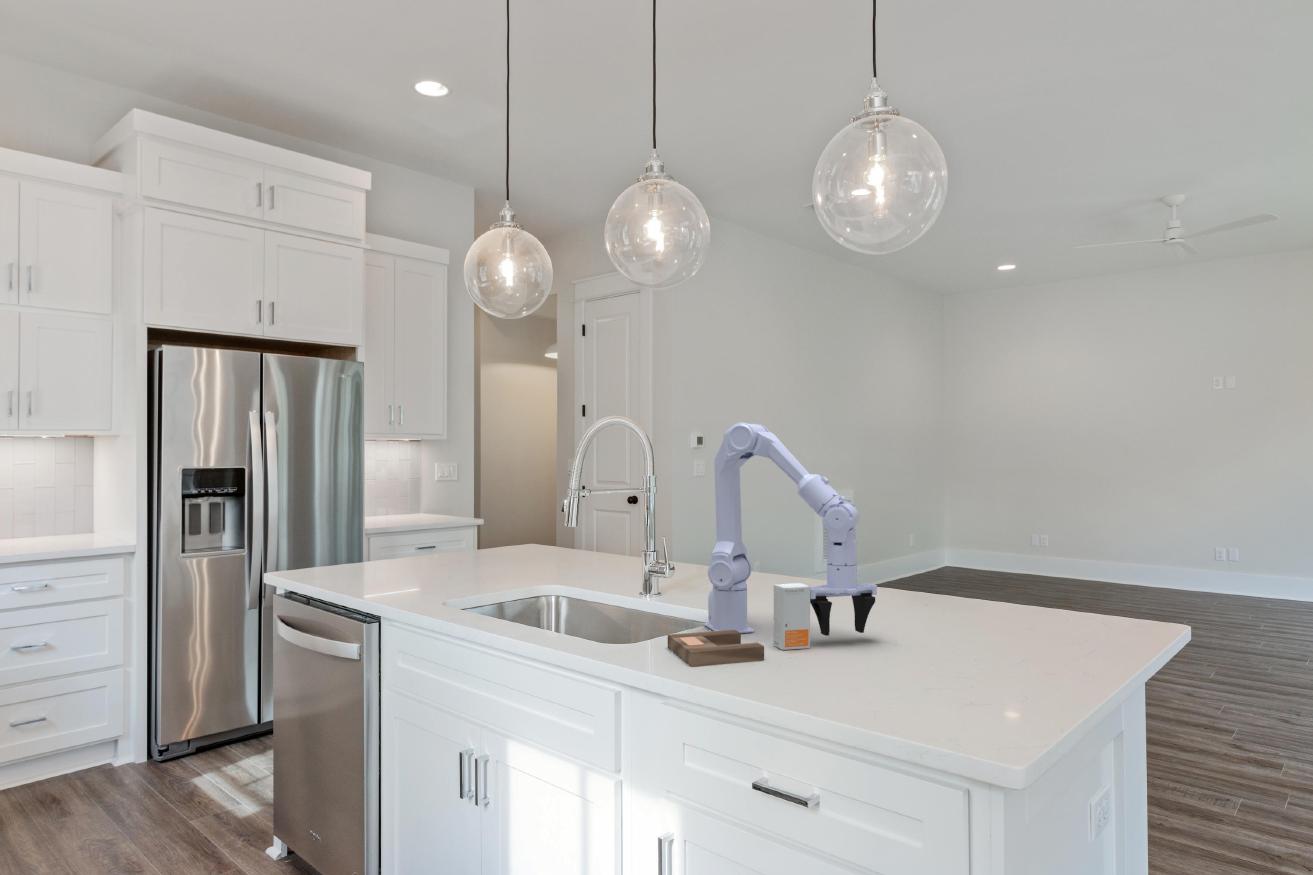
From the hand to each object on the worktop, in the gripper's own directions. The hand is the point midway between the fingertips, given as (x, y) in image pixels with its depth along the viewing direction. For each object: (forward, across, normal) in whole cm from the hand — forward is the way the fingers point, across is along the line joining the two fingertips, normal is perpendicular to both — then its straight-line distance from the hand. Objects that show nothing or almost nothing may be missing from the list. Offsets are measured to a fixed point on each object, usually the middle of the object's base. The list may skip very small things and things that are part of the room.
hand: (842, 633), depth 154 cm
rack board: (+2, -27, 0) cm, 27 cm away
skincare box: (+2, -11, 0) cm, 11 cm away
